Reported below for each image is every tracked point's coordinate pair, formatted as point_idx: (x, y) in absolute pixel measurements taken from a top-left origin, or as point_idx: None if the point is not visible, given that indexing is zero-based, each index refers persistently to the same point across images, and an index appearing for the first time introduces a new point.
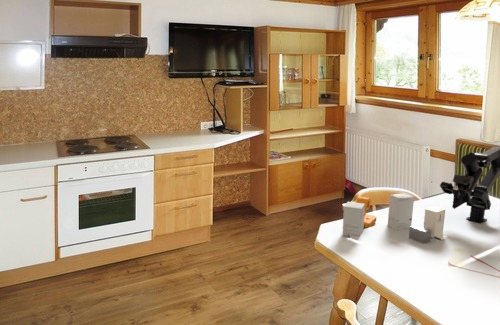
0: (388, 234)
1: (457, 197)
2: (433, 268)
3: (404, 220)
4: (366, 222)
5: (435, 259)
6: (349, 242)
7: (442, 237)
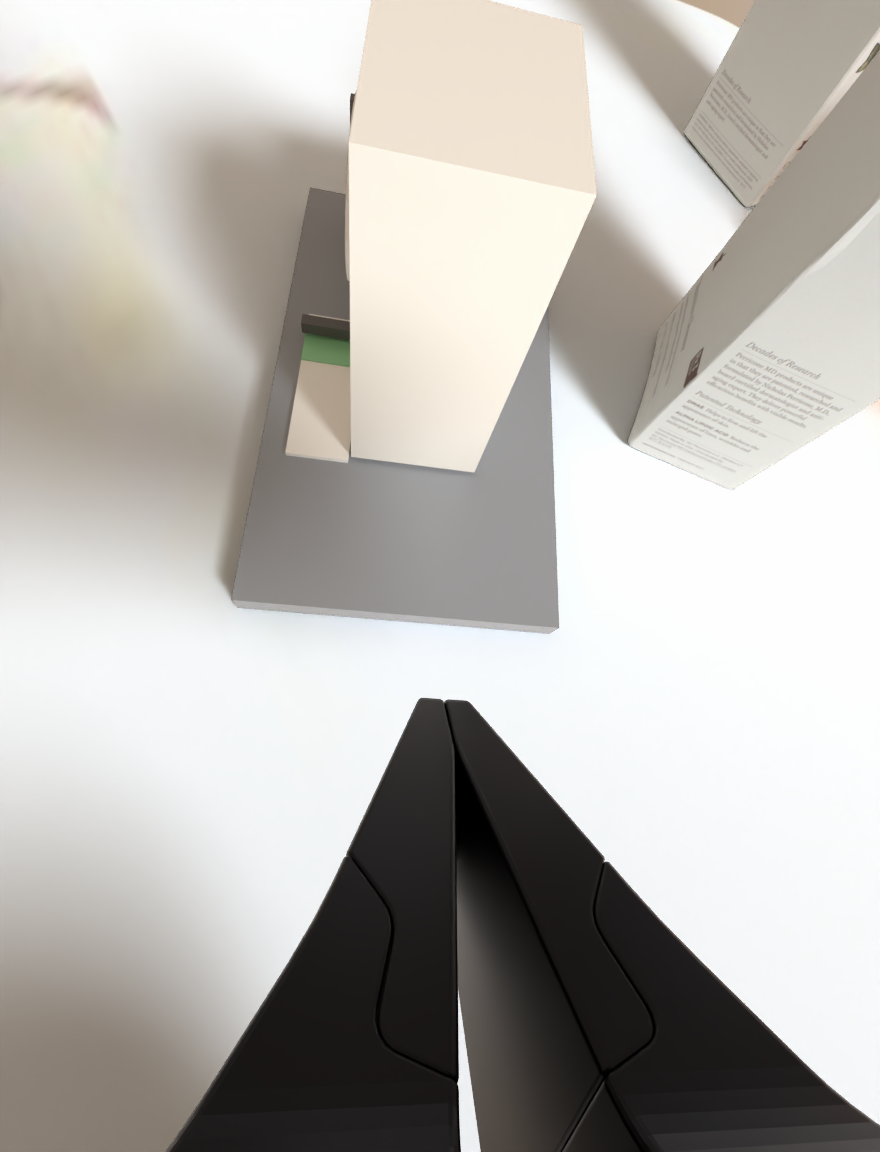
0: (645, 270)
1: (565, 1100)
2: (149, 15)
3: (702, 318)
4: None
5: (195, 110)
6: (662, 71)
7: (323, 405)
